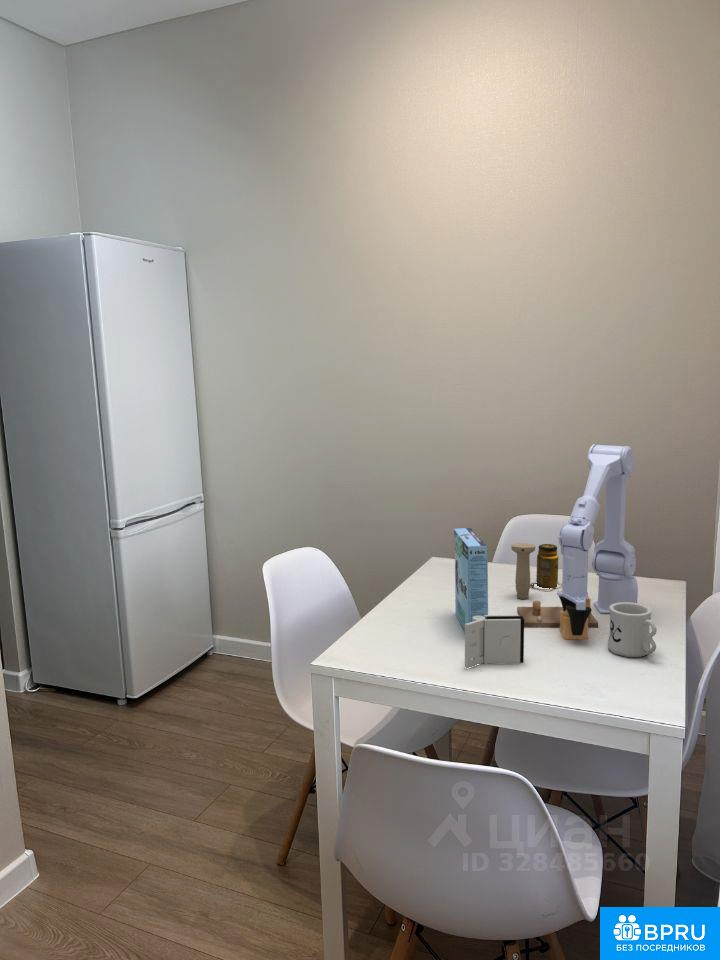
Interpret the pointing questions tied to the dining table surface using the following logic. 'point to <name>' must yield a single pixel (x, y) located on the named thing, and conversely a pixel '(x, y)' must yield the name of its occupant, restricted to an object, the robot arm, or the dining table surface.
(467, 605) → the gum box
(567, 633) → the cube with round boss
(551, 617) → the junction board
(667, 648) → the dining table surface
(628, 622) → the mug
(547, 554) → the condiment
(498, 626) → the hinge
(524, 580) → the handle
